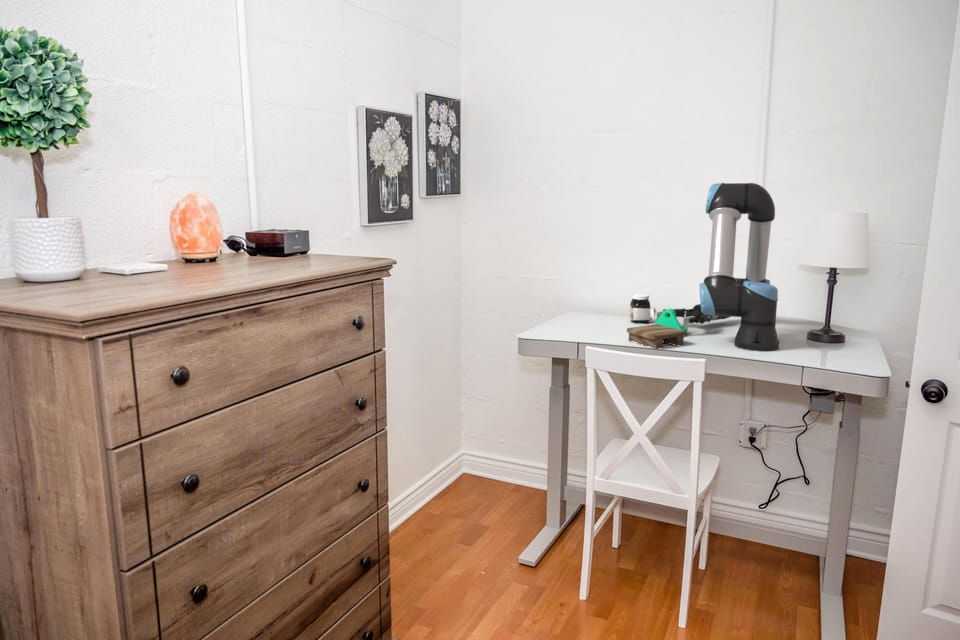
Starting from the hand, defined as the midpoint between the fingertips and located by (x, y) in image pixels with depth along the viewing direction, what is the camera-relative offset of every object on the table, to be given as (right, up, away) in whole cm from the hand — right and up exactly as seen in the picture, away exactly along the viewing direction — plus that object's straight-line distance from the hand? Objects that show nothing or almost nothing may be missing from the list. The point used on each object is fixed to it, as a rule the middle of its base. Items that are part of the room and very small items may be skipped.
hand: (668, 318), depth 271 cm
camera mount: (+1, -6, +1) cm, 6 cm away
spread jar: (-4, -2, +22) cm, 23 cm away
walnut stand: (-9, -9, -15) cm, 20 cm away
